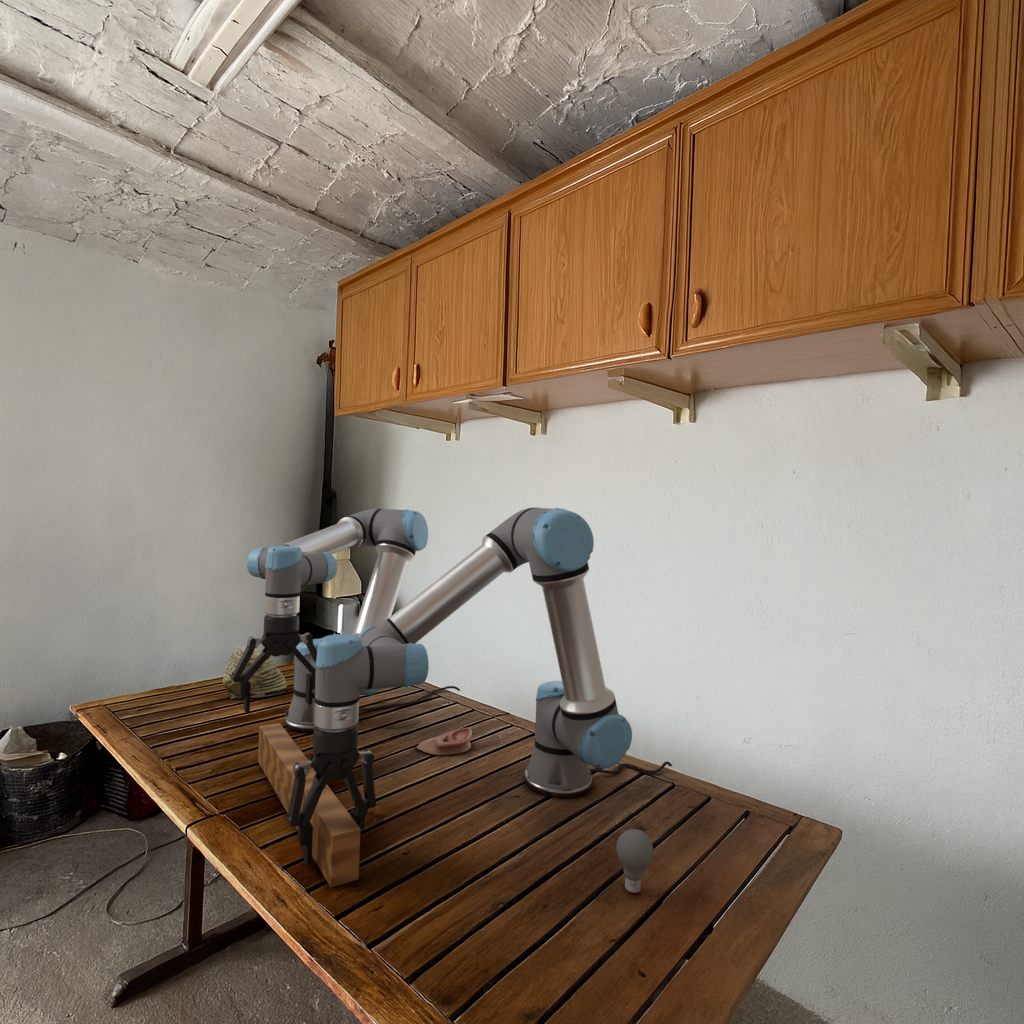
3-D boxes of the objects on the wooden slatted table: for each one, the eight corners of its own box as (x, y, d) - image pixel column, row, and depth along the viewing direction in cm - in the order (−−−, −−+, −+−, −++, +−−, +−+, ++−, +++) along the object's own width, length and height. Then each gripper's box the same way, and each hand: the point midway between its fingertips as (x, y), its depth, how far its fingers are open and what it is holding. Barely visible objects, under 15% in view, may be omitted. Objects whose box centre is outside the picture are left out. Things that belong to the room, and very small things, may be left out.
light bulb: (610, 879, 108) (613, 822, 108) (644, 879, 109) (647, 822, 109) (619, 902, 102) (622, 840, 102) (655, 901, 103) (658, 840, 103)
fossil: (218, 695, 195) (220, 647, 195) (278, 685, 208) (279, 640, 207) (228, 703, 189) (230, 653, 188) (289, 692, 201) (290, 645, 201)
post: (258, 762, 149) (259, 726, 149) (278, 758, 152) (280, 722, 152) (330, 887, 103) (332, 836, 103) (358, 879, 106) (360, 828, 106)
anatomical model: (412, 736, 159) (428, 721, 170) (412, 752, 159) (427, 735, 170) (464, 742, 156) (476, 726, 167) (463, 758, 156) (475, 741, 167)
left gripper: (225, 621, 134) (221, 720, 134) (341, 613, 148) (337, 704, 148) (219, 614, 140) (216, 710, 141) (331, 608, 154) (327, 695, 154)
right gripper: (280, 742, 102) (275, 883, 102) (399, 722, 113) (394, 849, 113) (269, 727, 108) (265, 860, 108) (383, 710, 119) (378, 830, 119)
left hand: (278, 707), depth 144 cm, fingers open, 13 cm apart
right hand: (331, 854), depth 111 cm, fingers open, 8 cm apart
